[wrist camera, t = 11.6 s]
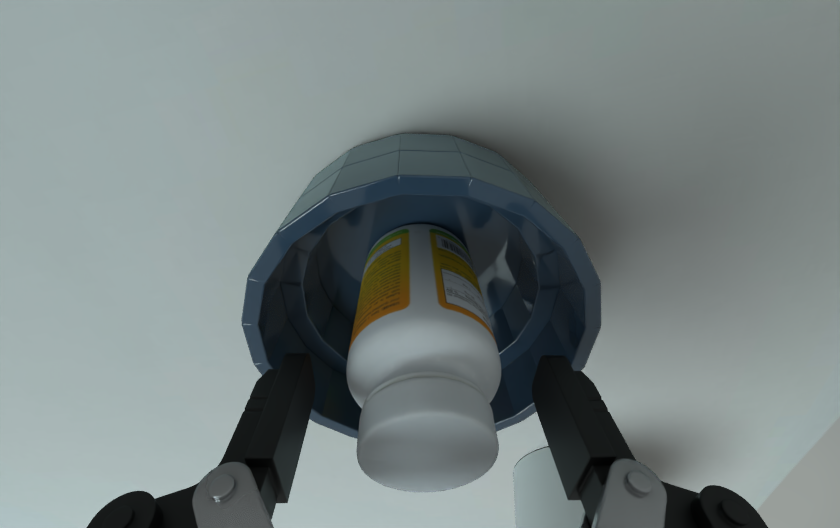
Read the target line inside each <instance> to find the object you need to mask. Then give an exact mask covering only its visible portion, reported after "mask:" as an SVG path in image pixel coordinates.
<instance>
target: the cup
mask: <svg viewBox="0 0 840 528" xmlns="http://www.w3.org/2000/svg"><path fill="white" fill-rule="evenodd" d="M513 482H514V504H515V525H516V528H579V525H580V522H581V518H582V515H583V512H584V511H585V510H584V508H583V505H582V502H581V500H568V499H567V496H566V493H565V490H564V488H563V485H562V482H561V479H560V476H559V473H558V470H557V468H556V465H555V462H554V459H553V456H552V453H551V450H550V448H549V447H546V448H543V449H540V450H537V451H534V452H532V453H530V454H528V455H526V456H525V457H523V458H522V459H521V460H520V461H519V462H518V463H517V464H516V466H515V467H514V471H513Z"/></svg>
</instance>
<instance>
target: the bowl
mask: <svg viewBox="0 0 840 528" xmlns="http://www.w3.org/2000/svg"><path fill="white" fill-rule="evenodd" d="M411 224H429V225H434V226H438V227H441V228H443V229H445V230H447V231H449V232H450V233H452V234H453V235H455V236H456V237H457V238H458V239H459V240H460V241H461V242H462V243H463V244H464V246H465V247H466V249H467V251H468V253H469V255H470V258H471V260H472V263H473V266H474V270H475V273H476V276H477V280H478V283H479V287H480V290H481V293H482V297H483V300H484V304H485V307H486V311H487V314H488V317H489V321H490V324H491V328H492V331H493V334H494V337H495V341H496V344H497V348H498V352H499V357H500V361H501V380H500V384H499V387H498V390H497V392H496V394H495V396H494V398H493V399H492V401H491V402H490V403H489V404H490V406H491V408H492V412H493V418H494V424H495V429H496V432H497V431H499V430H502V429H504V428H507V427H509V426H512V425H514V424H517V423H519V422H521V421H523V420H525V419H526V418H528V417H529V416H531V415H532V414H534V413H535V412H537V410H536V408H535V405H534V402H533V398H532V383H533V380H534V377H535V373H536V370H537V367H538V364H539V360H540V358H541V356H542V355H564V356H566V357H567V359H568V361H569V363H570V365H571V366H572V368H573V370H574V371H581V370H582V369H583V368H584V367H585V364H586V362H587V360H588V358H589V355H590V353H591V350H592V348H593V345H594V343H595V340H596V338H597V336H598V333H599V331H600V328H601V283H600V279H599V277H598V275H597V273H596V271H595V269H594V267H593V264H592V262H591V260H590V258H589V256H588V254H587V252H586V250H585V248H584V246H583V244H582V242H581V240H580V238H579V237H578V236H577V235H576V233H575V232H574V231H573V230H572V229H571V228H570V227H569V225H568V224H567V223H566V222H565V221H564V220H563V219H562V217H561V216H560V215H559V214H558V213H557V212H556V211H555V209H554V208H553V207H552V206H551V205H550V204H549V203H548V201H547V200H546V199H545V198H544V197H543V196H542V195H541V193H540V192H539V191H538V190H537V189H536V188H535V187H534V185H533V184H532V183H531V182H530V181H529V180H528V179H527V178H526V177H524V176H523V175H522V174H521V173H520V172H519V171H518V170H517V169H515V168H514V167H513V166H512V165H511V164H510V163H509V162H507V161H506V160H505V159H504V158H503V157H502V156H501V155H499V154H497V153H496V152H494V151H492V150H489V149H487V148H484V147H481V146H479V145H476V144H474V143H471V142H468V141H466V140H463V139H461V138H458V137H455V136H451V135H435V134H406V133H402V134H397V135H393V136H390V137H387V138H383V139H380V140H377V141H374V142H370V143H367V144H364V145H360V146H357V147H354V148H353V149H350V150H349V151H348V152H346V153H345V154H344V155H342V156H341V157H340V158H338V159H337V160H336V161H334V162H333V163H331V164H330V165H329V166H327V167H326V168H325V169H323V170H322V171H321V172H319V173H318V174H317V175H316V176H315V177H314V178H313V179H312V181H311V182H310V183H309V185H308V186H307V188H306V189H305V191H304V192H303V194H302V195H301V196H300V198H299V199H298V201H297V202H296V204H295V205H294V207H293V208H292V209H291V211H290V212H289V214H288V215H287V217H286V218H285V220H284V221H283V223H282V224H281V225H280V227H279V228H278V230H277V231H276V233H275V234H274V236H273V237H272V239H271V240H270V242H269V244H268V245H267V247H266V248H265V250H264V251H263V253H262V255H261V256H260V258H259V259H258V261H257V262H256V264H255V265H254V267H253V269H252V270H251V272H250V273H249V275H248V278H247V284H246V291H245V299H244V306H243V313H242V320H241V321H242V327H243V330H244V334H245V337H246V340H247V344H248V347H249V350H250V354H251V357H252V360H253V363H254V365H255V367H256V368H257V369H258V370H259V372H260V373H261V374H262V376H263V375H264V373H265V372H266V371H267V370H268V369H279V368H280V365H281V363H282V360H283V358H284V356H285V354H286V353H309V354H310V357H311V362H312V368H313V374H314V380H315V397H314V402H313V406H312V410H311V414H310V417H309V419H310V420H312V421H314V422H315V423H318V424H320V425H323V426H325V427H328V428H330V429H332V430H335V431H337V432H340V433H342V434H345V435H347V436H350V437H354V438H357V439H358V431H359V420H360V415H361V412H362V409H361V407H360V406H359V405H358V404H357V402H356V401H355V399H354V398H353V396H352V394H351V392H350V390H349V387H348V383H347V376H346V369H347V359H348V352H349V346H350V342H351V336H352V331H353V325H354V320H355V315H356V310H357V304H358V299H359V294H360V288H361V283H362V277H363V272H364V267H365V263H366V260H367V257H368V254H369V252H370V250H371V249H372V247H373V246H374V244H375V243H376V242H377V241H378V240H379V239H380V238H381V237H382V236H384V235H385V234H387V233H388V232H390V231H392V230H394V229H396V228H399V227H402V226H405V225H411Z"/></svg>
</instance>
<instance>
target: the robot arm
mask: <svg viewBox="0 0 840 528" xmlns="http://www.w3.org/2000/svg"><path fill="white" fill-rule="evenodd" d="M314 397H315V380H314V374H313V368H312V362H311V357H310V354H309V353H286V354H285V356H284V358H283V360H282V363H281V365H280V368H279V369H268V370H267V371H266V372H265V373H264V375H263V376H262V377H261V378H260V379H259V380H258V381H257V382H256V384H255V387H254V389H253V391H252V393H251V396H250V399H249V400H248V402H247V405H246V407H245V411H244V412H243V414H242V416H241V418H240V421H239V423H238V425H237V427H236V430H235V432H234V434H233V436H232V439H231V441H230V443H229V445H228V448H227V450H226V452H225V454H224V457H223V459H222V461H221V462H220V464H219V465H218V467H216V468H214V469H213V470H211V471H210V472H209V473H208V474H207V475H206V476H205V477H204V478H203V479H202V480H201V481H200V482H199V483H198V484H196V485H194V486H192V487H189V488H186V489H183V490H180V491H177V492H174V493H171V494H168V495H165V496H162V497H159V498H156V499H154V498H153V496H152V495H151V494H149V493H147V492H144V491H134V492H130V493H126V494H124V495H122V496H119V497H118V498H116V499H114V500H113V501H111V502H110V503H108V504H107V505H106V506H105V507H103V508H102V509H101V510H100V511H99V512H98V513H97V514H96V515H95V517H94V518H93V519H92V521H91V522H90V523H89V525H88V527H87V528H274V527H273V525H272V522H271V519H272V516H273V512H274V509H275V505H276V503H287V502H288V498H289V495H290V491H291V487H292V483H293V479H294V475H295V471H296V468H297V464H298V460H299V456H300V452H301V448H302V444H303V441H304V437H305V433H306V429H307V425H308V421H309V417H310V414H311V410H312V406H313V402H314ZM532 398H533V402H534V405H535V408H536V410H537V413H538V416H539V419H540V422H541V425H542V428H543V430H544V433H545V436H546V439H547V442H548V445H549V448H550V450H551V453H552V456H553V459H554V462H555V465H556V468H557V470H558V473H559V476H560V479H561V482H562V485H563V488H564V490H565V493H566V496H567V499H568V500H581V502H582V505H583V508H584V510H585V511H584V512H583V515H582V518H581V522H580V525H579V528H768V527H767V525H766V524H765V522H764V521H763V520H762V518H761V517H760V515H759V514H758V513H757V511H756V510H755V509H754V508H753V507H752V506H751V505H750V504H749V503H748V502H747V501H746V500H745V499H743V498H742V497H741V496H739V495H738V494H736V493H735V492H733V491H731V490H729V489H727V488H724V487H721V486H715V485H710V486H706V487H705V488H703V490H702V491H701V492H700V493H696V492H693V491H690V490H687V489H683V488H680V487H677V486H674V485H670V484H668V483H665V482H663V481H661V480H660V479H659V478H658V477H657V476H656V474H655V473H654V472H653V471H651V470H650V469H649V468H648V467H646V466H645V465H643V464H642V463H640V462H638V461H636V459H635V458H634V456H633V455H632V453H631V451H630V449H629V447H628V445H627V444H626V442H625V440H624V438H623V436H622V434H621V433H620V431H619V429H618V427H617V425H616V423H615V422H614V420H613V418H612V416H611V414H610V412H608V410H607V407H606V405H605V403H604V401H603V400H601V396H600V394H599V392H598V390H597V389H596V387H595V385H594V383H593V382H592V381H591V380H590V379H589V378H588V377H587V376H586V375H585V374H584V373H583V372H582V371H574V370H573V368H572V366H571V365H570V363H569V361H568V359H567V357H566V356H564V355H542V356H541V358H540V360H539V364H538V367H537V370H536V373H535V377H534V380H533V383H532Z"/></svg>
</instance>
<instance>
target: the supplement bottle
mask: <svg viewBox="0 0 840 528" xmlns="http://www.w3.org/2000/svg"><path fill="white" fill-rule="evenodd" d="M346 376H347V383H348V387H349V390H350V392H351V394H352V396H353V398H354V399H355V401H356V402H357V404H358V405H359V406H360V407H361V409H362V412H361V415H360V420H359V431H358V441H357V459H358V463H359V465H360V467H361V469H362V470H363V471H364V473H365V474H366V475H368V476H369V477H370V478H371V479H373V480H374V481H376V482H378V483H380V484H382V485H384V486H387V487H390V488H394V489H397V490H402V491H409V492H436V491H444V490H449V489H453V488H457V487H460V486H463V485H466V484H468V483H470V482H472V481H474V480H476V479H478V478H480V477H481V476H482V475H484V474H485V473H486V472H487V471H488V470H489V469H490V468H491V467H492V466H493V464H494V462H495V461H496V458H497V456H498V450H499V444H498V439H497V434H496V429H495V424H494V418H493V412H492V408H491V406H490V404H489V403H490V402H491V401H492V399H493V398H494V396H495V394H496V392H497V390H498V387H499V384H500V380H501V361H500V357H499V352H498V348H497V344H496V341H495V337H494V334H493V331H492V328H491V324H490V321H489V317H488V314H487V311H486V307H485V304H484V300H483V297H482V293H481V290H480V287H479V283H478V280H477V276H476V273H475V270H474V266H473V263H472V260H471V258H470V255H469V253H468V251H467V249H466V247H465V246H464V244H463V243H462V242H461V241H460V240H459V239H458V238H457V237H456V236H455V235H453V234H452V233H450V232H449V231H447V230H445V229H443V228H441V227H438V226H434V225H429V224H411V225H405V226H402V227H399V228H396V229H394V230H392V231H390V232H388V233H387V234H385V235H384V236H382V237H381V238H380V239H379V240H378V241H377V242H376V243H375V244H374V246H373V247H372V249H371V250H370V252H369V254H368V257H367V260H366V263H365V267H364V272H363V277H362V283H361V288H360V294H359V299H358V304H357V310H356V315H355V320H354V325H353V331H352V336H351V342H350V346H349V352H348V359H347V369H346Z"/></svg>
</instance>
